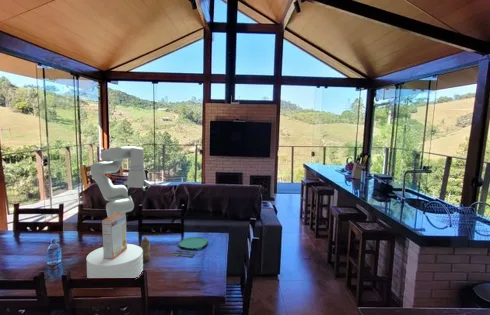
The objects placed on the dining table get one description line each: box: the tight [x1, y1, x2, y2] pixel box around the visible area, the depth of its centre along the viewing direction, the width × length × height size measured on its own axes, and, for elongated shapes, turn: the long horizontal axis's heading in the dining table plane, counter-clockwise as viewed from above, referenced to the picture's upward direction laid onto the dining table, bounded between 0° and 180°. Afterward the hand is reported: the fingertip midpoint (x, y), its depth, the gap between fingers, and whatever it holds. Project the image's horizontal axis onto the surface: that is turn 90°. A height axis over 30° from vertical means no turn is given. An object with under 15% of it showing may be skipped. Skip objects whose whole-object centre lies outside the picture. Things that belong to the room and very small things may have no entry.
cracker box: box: [101, 212, 128, 259], centre depth 163 cm, size 14×6×21 cm, turn 172°
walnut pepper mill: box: [140, 236, 151, 263], centre depth 182 cm, size 5×5×14 cm
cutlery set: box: [171, 236, 209, 258], centre depth 203 cm, size 20×30×2 cm, turn 166°
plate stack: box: [86, 243, 144, 279], centre depth 165 cm, size 28×28×12 cm
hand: (137, 196), depth 182 cm, fingers open, 9 cm apart
